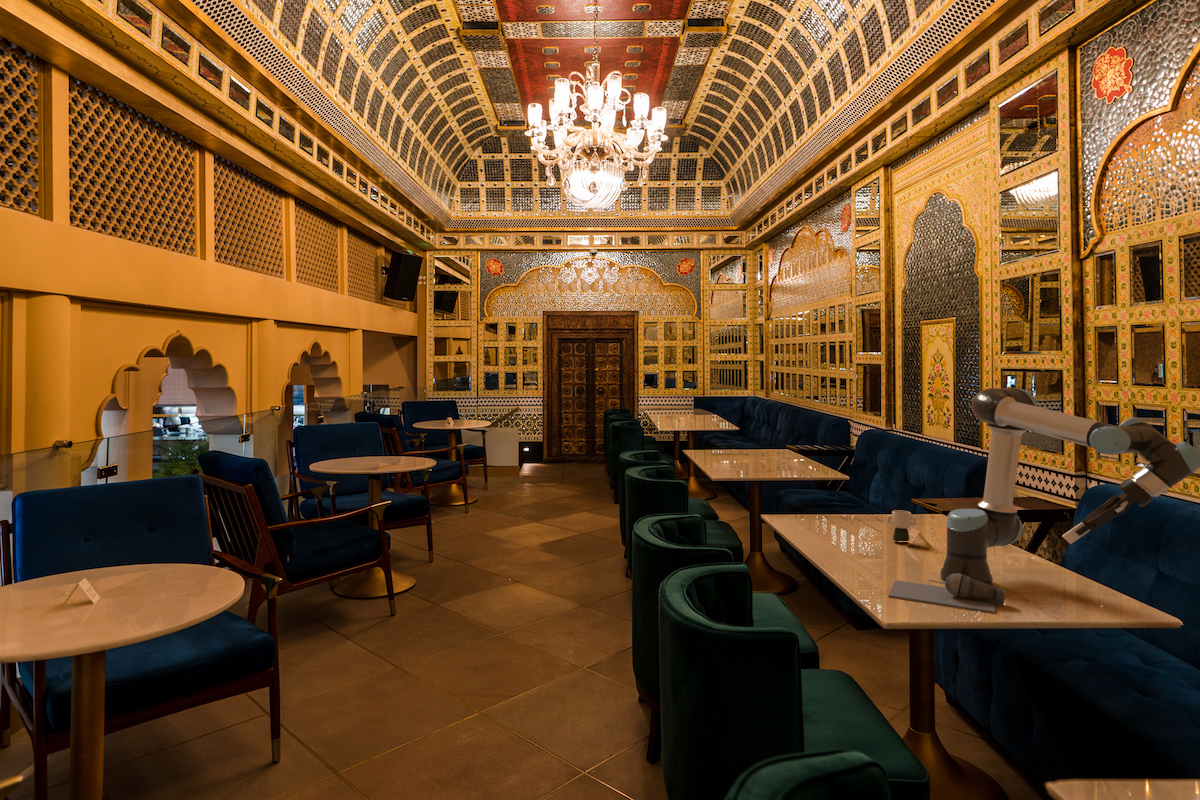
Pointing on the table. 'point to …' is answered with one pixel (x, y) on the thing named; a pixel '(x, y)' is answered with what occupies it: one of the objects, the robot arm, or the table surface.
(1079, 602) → the table surface
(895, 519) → the character mug
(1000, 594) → the beverage cup
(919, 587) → the rubber mat
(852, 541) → the table surface
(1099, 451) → the robot arm
